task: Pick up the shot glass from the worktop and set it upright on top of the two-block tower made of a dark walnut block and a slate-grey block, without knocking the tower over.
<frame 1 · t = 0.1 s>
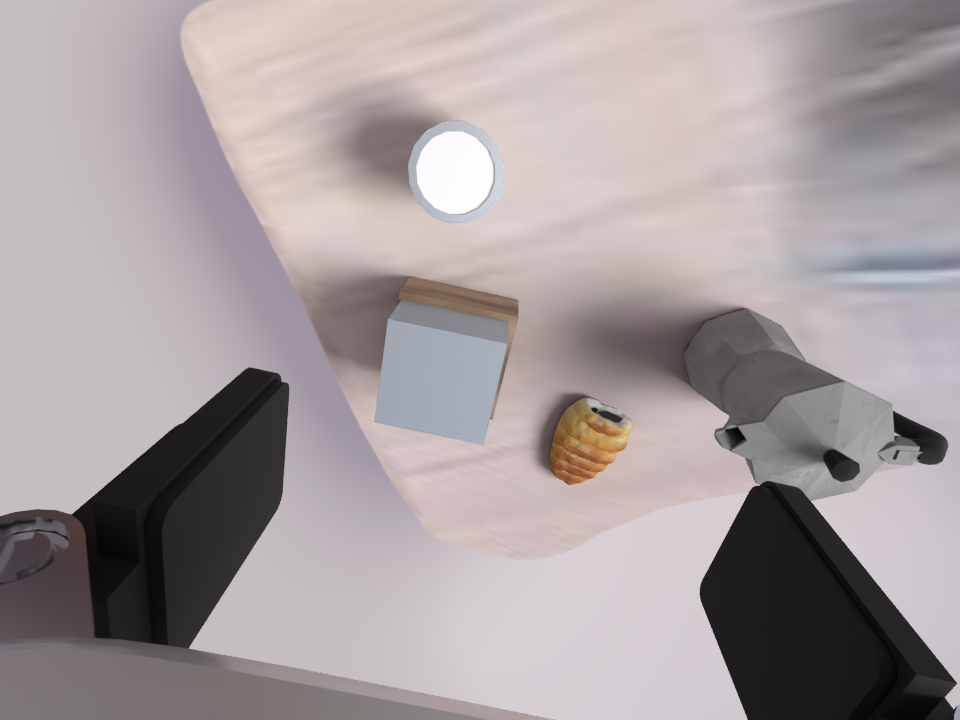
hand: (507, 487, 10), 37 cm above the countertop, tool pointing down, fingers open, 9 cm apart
coffeepot: (744, 355, 48), on the countertop
walnut base block: (454, 337, 49), on the countertop
pastry: (587, 431, 52), on the countertop
grey top block: (446, 359, 44), point 5 cm above the countertop
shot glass: (465, 168, 43), on the countertop
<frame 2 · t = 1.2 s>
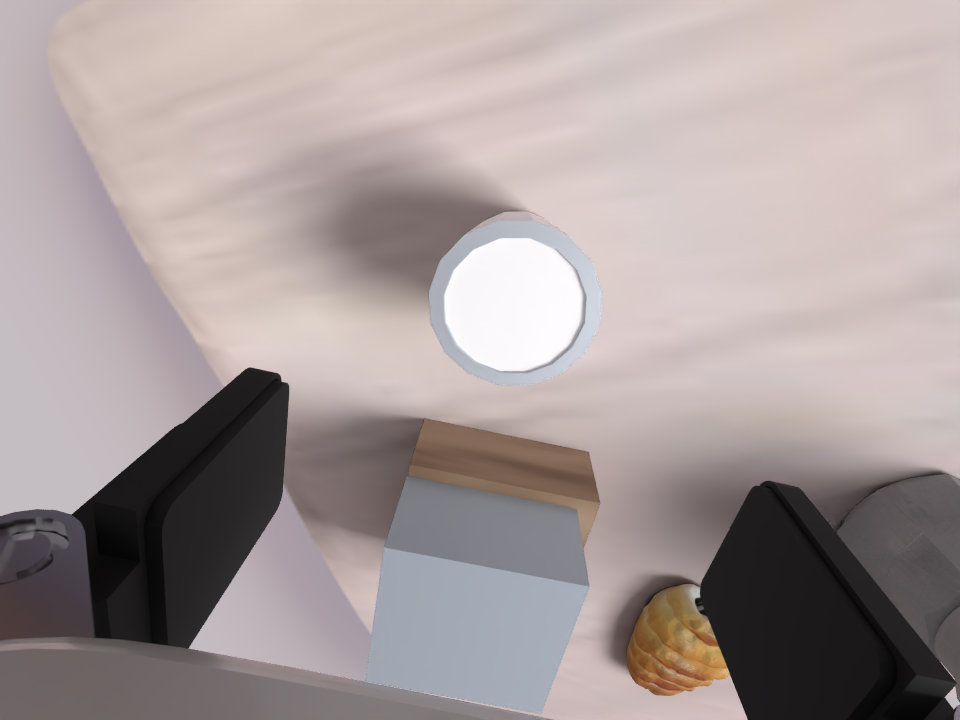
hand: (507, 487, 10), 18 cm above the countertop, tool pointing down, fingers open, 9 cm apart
coffeepot: (928, 532, 32), on the countertop
walnut base block: (490, 497, 33), on the countertop, touching grey top block
pastry: (681, 619, 36), on the countertop
grey top block: (476, 556, 28), point 5 cm above the countertop, touching walnut base block
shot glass: (515, 265, 27), on the countertop
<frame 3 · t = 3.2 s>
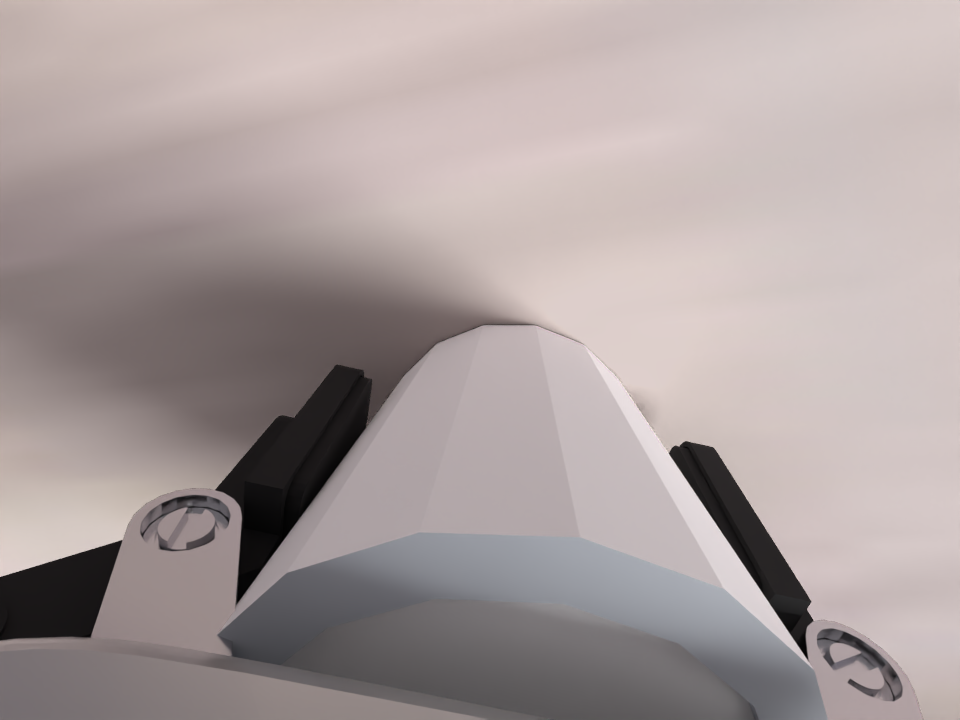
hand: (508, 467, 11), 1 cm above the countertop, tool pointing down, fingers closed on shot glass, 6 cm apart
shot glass: (509, 433, 12), on the countertop, touching gripper
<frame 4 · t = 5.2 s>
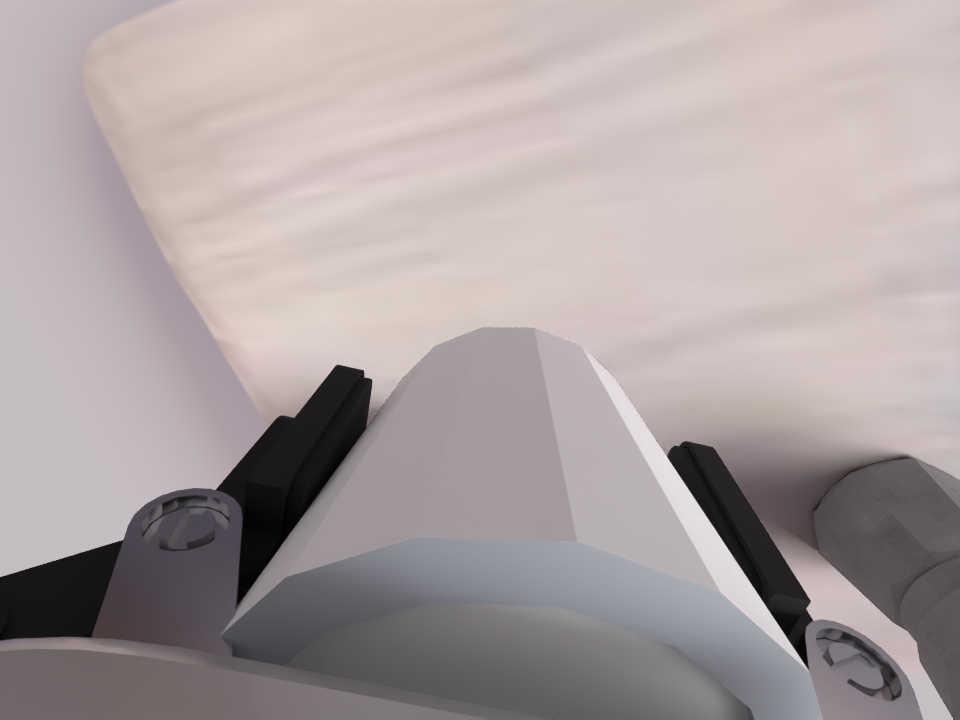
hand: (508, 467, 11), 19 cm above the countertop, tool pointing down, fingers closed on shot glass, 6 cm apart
coffeepot: (898, 514, 34), on the countertop
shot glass: (507, 435, 12), point 18 cm above the countertop, touching gripper
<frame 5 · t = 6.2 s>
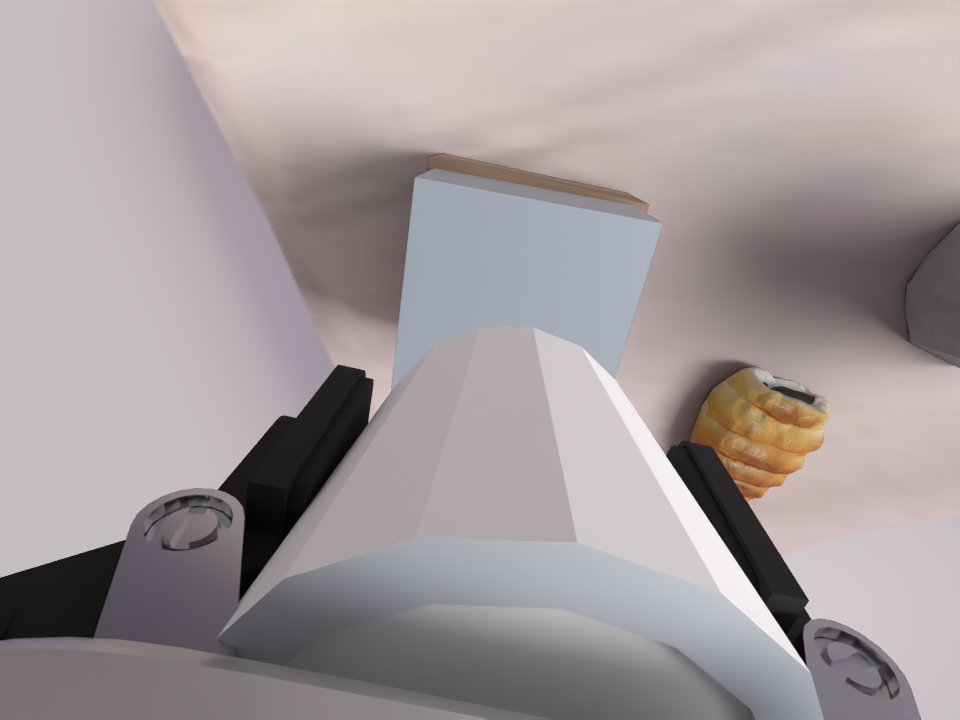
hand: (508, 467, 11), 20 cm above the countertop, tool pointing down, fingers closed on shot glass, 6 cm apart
walnut base block: (514, 263, 29), on the countertop, touching grey top block
pastry: (743, 423, 33), on the countertop
grey top block: (514, 283, 25), point 5 cm above the countertop, touching walnut base block
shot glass: (506, 434, 12), point 18 cm above the countertop, touching gripper
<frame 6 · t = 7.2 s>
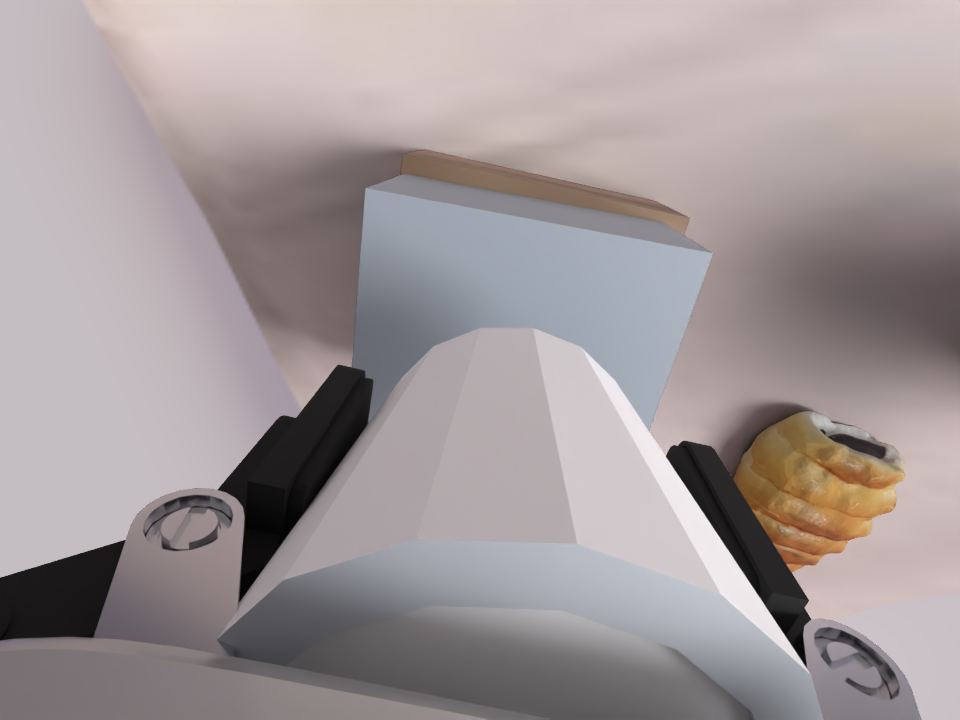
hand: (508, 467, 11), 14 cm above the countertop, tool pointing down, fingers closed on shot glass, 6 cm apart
walnut base block: (514, 285, 24), on the countertop, touching grey top block
pastry: (792, 474, 27), on the countertop
grey top block: (508, 319, 19), point 5 cm above the countertop, touching walnut base block
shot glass: (506, 435, 12), point 13 cm above the countertop, touching gripper
when the fingers open (12 cm above the countertop, at t = 8.0 s): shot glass drops 1 cm, point 10 cm above the countertop.
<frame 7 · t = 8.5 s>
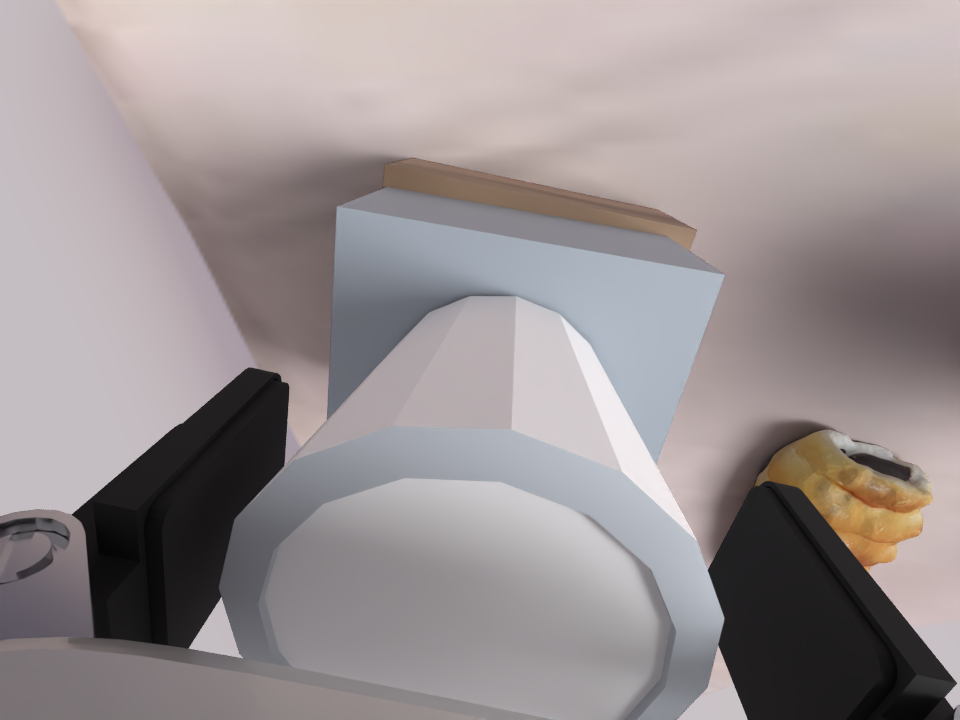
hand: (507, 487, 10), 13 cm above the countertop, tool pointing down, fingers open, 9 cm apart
walnut base block: (509, 300, 23), on the countertop
pastry: (809, 494, 26), on the countertop
grey top block: (502, 341, 18), point 5 cm above the countertop
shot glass: (494, 395, 13), point 10 cm above the countertop
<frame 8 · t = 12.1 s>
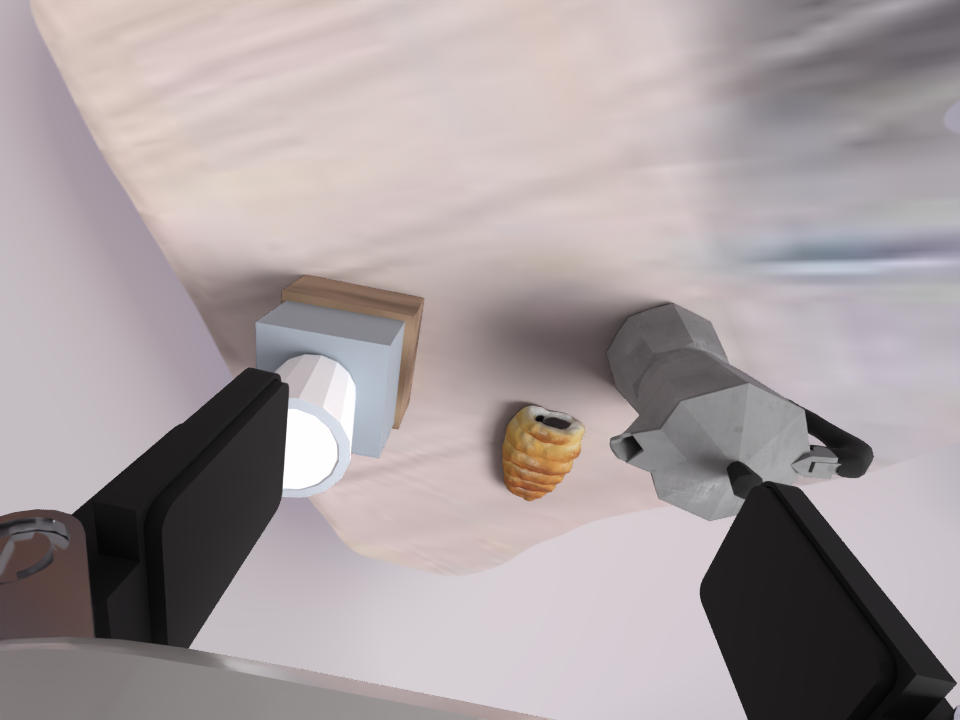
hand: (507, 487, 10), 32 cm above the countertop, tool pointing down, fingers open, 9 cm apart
coffeepot: (673, 354, 43), on the countertop
walnut base block: (360, 340, 45), on the countertop, touching grey top block
pastry: (540, 441, 48), on the countertop
grey top block: (342, 364, 40), point 5 cm above the countertop, touching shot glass, walnut base block
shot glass: (315, 390, 35), point 10 cm above the countertop, touching grey top block
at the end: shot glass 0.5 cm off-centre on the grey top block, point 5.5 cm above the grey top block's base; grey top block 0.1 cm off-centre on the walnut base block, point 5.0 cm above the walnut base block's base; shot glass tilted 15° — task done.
